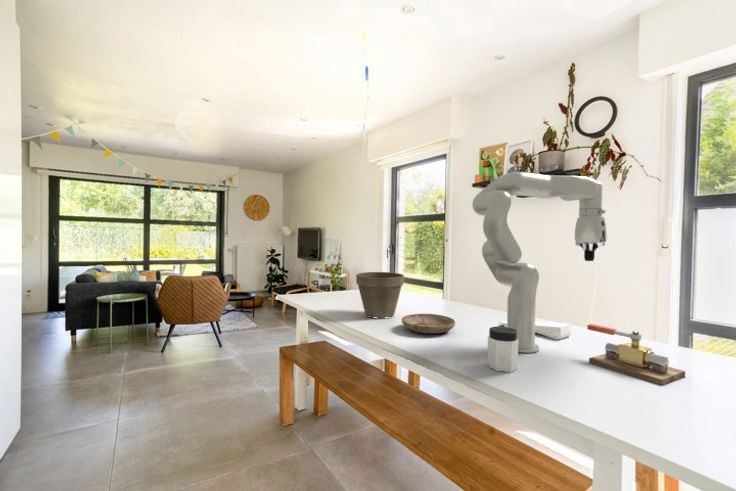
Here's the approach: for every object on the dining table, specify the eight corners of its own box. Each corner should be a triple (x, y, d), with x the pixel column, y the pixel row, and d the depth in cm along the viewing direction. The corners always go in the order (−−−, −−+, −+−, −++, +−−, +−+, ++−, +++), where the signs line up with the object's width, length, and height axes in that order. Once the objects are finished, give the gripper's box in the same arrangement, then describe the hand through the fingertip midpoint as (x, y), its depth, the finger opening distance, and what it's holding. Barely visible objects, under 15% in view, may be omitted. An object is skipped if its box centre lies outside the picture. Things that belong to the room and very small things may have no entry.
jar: (487, 370, 110) (488, 331, 110) (487, 361, 118) (487, 325, 117) (519, 373, 107) (519, 334, 107) (516, 364, 115) (517, 327, 115)
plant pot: (401, 322, 171) (402, 277, 170) (351, 320, 175) (351, 276, 174) (405, 312, 195) (405, 272, 195) (361, 310, 199) (361, 271, 199)
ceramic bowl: (391, 332, 154) (391, 320, 154) (416, 321, 174) (416, 311, 174) (442, 341, 141) (442, 328, 141) (463, 328, 160) (463, 317, 160)
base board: (661, 385, 100) (661, 379, 100) (589, 362, 117) (589, 358, 117) (685, 376, 106) (685, 371, 106) (612, 356, 124) (613, 351, 124)
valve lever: (642, 339, 111) (643, 332, 111) (638, 340, 110) (638, 333, 110) (591, 328, 125) (591, 322, 124) (587, 329, 123) (587, 322, 123)
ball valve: (661, 374, 104) (661, 347, 103) (603, 357, 118) (603, 334, 117) (669, 371, 106) (670, 345, 106) (612, 355, 120) (612, 332, 120)
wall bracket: (501, 338, 165) (562, 345, 143) (497, 323, 165) (558, 328, 142) (512, 330, 171) (573, 335, 148) (509, 315, 171) (569, 319, 148)
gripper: (616, 213, 135) (615, 261, 135) (577, 215, 148) (576, 259, 148) (604, 212, 131) (603, 262, 131) (565, 214, 144) (565, 259, 145)
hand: (589, 260), depth 140 cm, fingers closed
